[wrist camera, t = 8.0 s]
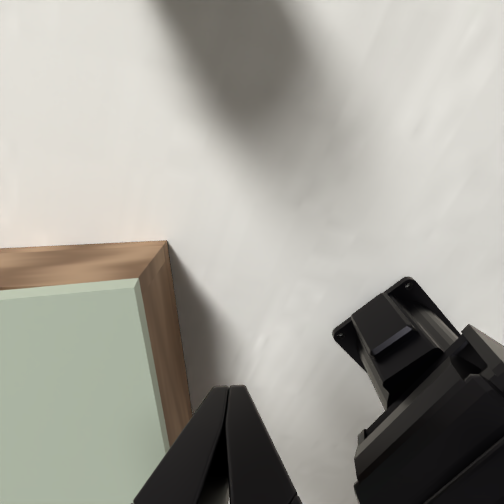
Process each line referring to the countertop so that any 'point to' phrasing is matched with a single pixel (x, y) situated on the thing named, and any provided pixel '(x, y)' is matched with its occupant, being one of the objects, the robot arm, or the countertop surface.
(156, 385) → the lid
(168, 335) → the walnut box
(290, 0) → the countertop surface
